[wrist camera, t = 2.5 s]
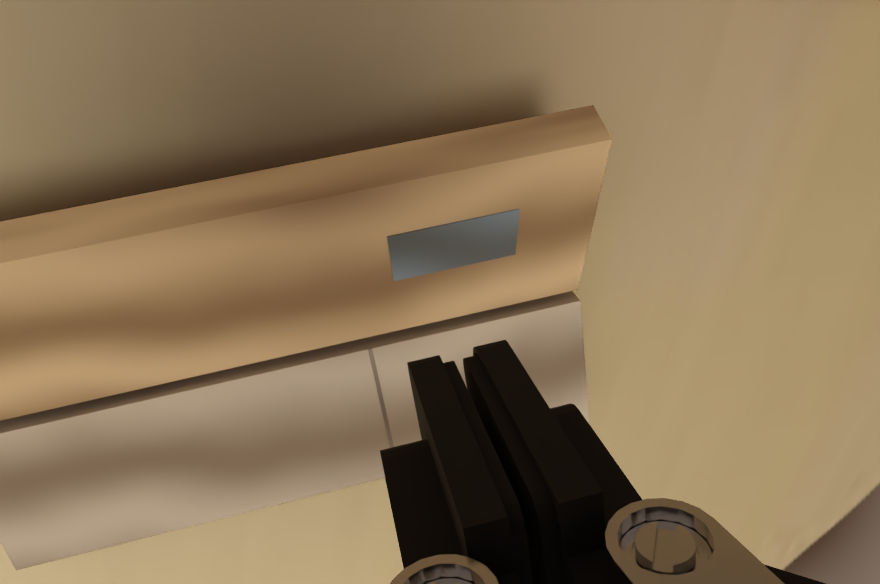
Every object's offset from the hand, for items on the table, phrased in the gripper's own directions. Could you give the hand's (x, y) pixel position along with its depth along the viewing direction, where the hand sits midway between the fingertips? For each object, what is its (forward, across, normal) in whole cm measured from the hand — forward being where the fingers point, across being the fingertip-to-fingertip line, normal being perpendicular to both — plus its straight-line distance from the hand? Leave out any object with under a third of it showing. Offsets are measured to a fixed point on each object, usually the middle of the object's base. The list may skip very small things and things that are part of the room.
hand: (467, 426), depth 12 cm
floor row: (+16, +5, +9) cm, 19 cm away
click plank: (+14, +5, +1) cm, 15 cm away
